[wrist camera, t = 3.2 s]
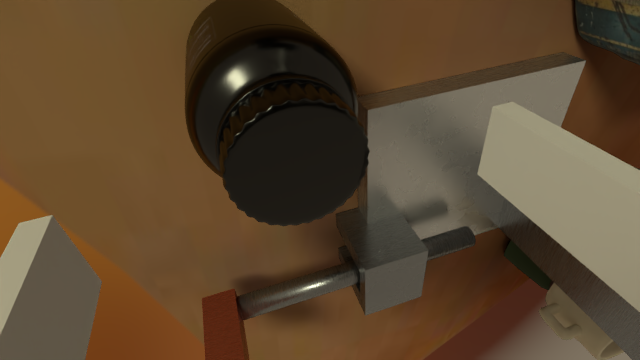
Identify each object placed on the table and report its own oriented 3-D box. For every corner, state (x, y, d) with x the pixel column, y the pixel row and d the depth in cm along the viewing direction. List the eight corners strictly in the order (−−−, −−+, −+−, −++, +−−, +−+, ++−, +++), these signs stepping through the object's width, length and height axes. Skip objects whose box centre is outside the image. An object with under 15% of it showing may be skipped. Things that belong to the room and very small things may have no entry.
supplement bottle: (321, 11, 20) (438, 93, 11) (288, 119, 23) (356, 252, 14) (193, -32, 17) (208, 31, 8) (176, 99, 21) (172, 249, 11)
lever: (172, 306, 26) (169, 427, 20) (463, 217, 31) (534, 293, 24) (183, 325, 28) (184, 442, 21) (459, 238, 32) (524, 314, 26)
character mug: (477, 270, 43) (567, 378, 33) (488, 229, 38) (595, 340, 28) (553, 242, 45) (660, 336, 35) (572, 200, 40) (701, 295, 30)
